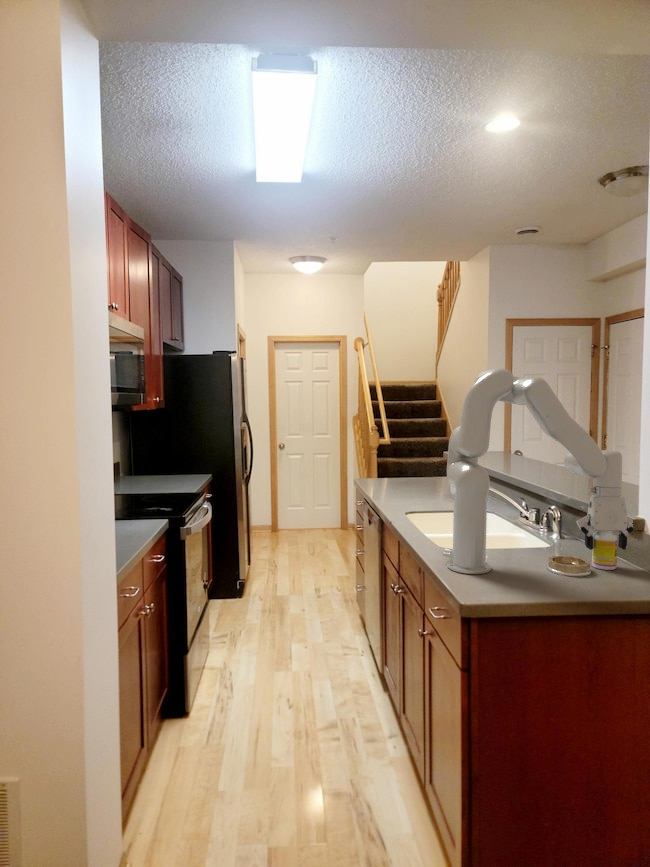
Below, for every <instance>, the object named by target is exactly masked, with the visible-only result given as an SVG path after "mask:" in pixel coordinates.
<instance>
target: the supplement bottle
mask: <svg viewBox="0 0 650 867" xmlns="http://www.w3.org/2000/svg"><path fill="white" fill-rule="evenodd" d="M592 537H593V549H592V551H591V552H592V554H591V555H592V556H591V565H592V567H594V568H596V569H600V570H605V571H611V570H612V571H613V570H615V569H617V564H618V540H619V537H618V535H617V534H615V533H614V531H597V530H596V531H595V532H594V533H593V534H592Z"/></svg>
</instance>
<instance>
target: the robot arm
mask: <svg viewBox="0 0 650 867" xmlns="http://www.w3.org/2000/svg"><path fill="white" fill-rule="evenodd" d="M498 402H503V403H508V404H512V405H519V406H525V407H526V408H527V410H528V411H529V413H530V414H531V415H532V417H533V419H534V420H535V421H536V423H537V424H538V425H539V427H540V429H541V430H542V432H543V433H545V434H546V435H547V436H548V437H550V438H551V440H552V439H553V441H556V442H558V444H561V445H562V446H563V447H564V448H565V449H566V450H567V451H568V452H567V453H566V455H564V458H563V465H564V467H565V468H566V470H567V471H568V472H570V473H572V474H575V475H578V476H583V477H586V478H589V479H593V483H592V484H593V485H592V487H589V488H588V492H589V494H590V493H591V494H592V495H590V498H589V502H588V507H587V515H585V516H583V517H581V518H579V519H577V520H576V521H575V523H576V524H577V527H578V528H579V530H580V531H581V532H582V533H583V535H584V545H585V548H586V549H589V550H592V549H593V534H594V533H595V532H597V531H613V532H619V534H618V541H617V548H620V549H622V550H624V551H625V550H626V549H627V547H628V537H629V536H630V534H631V533H632V532H633V531H634V530H635V529H634V528H635V527H634V528H633V524H632V523H633V520H634V519H633V518H631V517H629V516H628V513H627V512H628V511H627V504H626V499H625V497H624V496H622V483H623V482H622V477H623V475H622V474H623V473H622V472H623V454H622V453H621V452H620V451H617V450H605V449H603V450H601V449H600V447H599V445H598V443H597V442H596V441H595V440H594V438H593V437H592V436H591V435H590V434H589V433H588V432H587V431H586V430H585V429H584V428H583V427H582V426H581V425H580V424H579V423H578V422H577V421H576V420H575V419H573V417H572V416H570V414H569V413H568V411H567V410H566V408H565V407H564V405H563V404H562V402H561V401H560V399H559V398H558V397H557V395H556V393H555V392H554V390H553V389H552V388H551V386H550V384H549V383H548V382H547V380H545V379H544V378H542V377H539V376H531V377H520V376H515V375H514V374H513V373H512V372H511V371H510V370H508V369H506V368H499V367H498V368H493V369H487V370H484V371H482V372H479V374H478V375H477V376H476V377H475V380H474V384H472V386H471V387H470V388H469V390H468V391H467V393H466V395H465V398H464V401H463V404H462V410H461V418H460V425H459V426H457V427H456V428H454V429H453V431H452V432H451V434H450V436H449V440H448V450H447V463H446V478H447V481H448V483H449V484H450V485H451V486H452V487H453V488H455V495H454V500H453V509H452V510H453V515H452V516H453V518H452V519H453V523H452V524H453V525H452V526H453V528H452V530H453V531H452V532H453V533H452V549H449V548H444V550H443V552H442V556H443V557H446V558H447V557H448V558H449V560H448V561H447V563H446V566H447V567H448V569H449V570H451V571H454V572H457V573H460V574H467V575H481V574H486V573H489V572H491V570H492V565H491V563H489V562H487V560H486V556H487V519H488V518H487V517H488V516H487V515H488V514H487V513H488V512H487V510H488V508H487V507H488V499H489V498H488V497H489V492H490V486H491V483H490V482H491V481H490V475H489V473H488V471H487V470H486V468H485V467H484V466H482V465H481V464H479V463H478V460H479V458H481V457H483V456H484V455H485V454H487V452H488V450H489V447H490V438H491V437H490V436H491V424H492V416H493V411H494V408H495V406H496V404H497V403H498ZM585 523H586V525H587V527H585V525H584V524H585Z"/></svg>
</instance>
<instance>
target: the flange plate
mask: <svg viewBox="0 0 650 867" xmlns="http://www.w3.org/2000/svg"><path fill="white" fill-rule="evenodd" d="M546 567H547V568H546V569H547V571H549V572H550V573H552V574H556V575H559V576H563V577H573V578H577V577H579V578H582V577H588V576H590V575H591V574H592V569H591V563H590V562H589V560H586V559H585V558H581V557H577V556H573V555H572V556H571V555H551V556H550V557H547V564H546Z"/></svg>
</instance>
